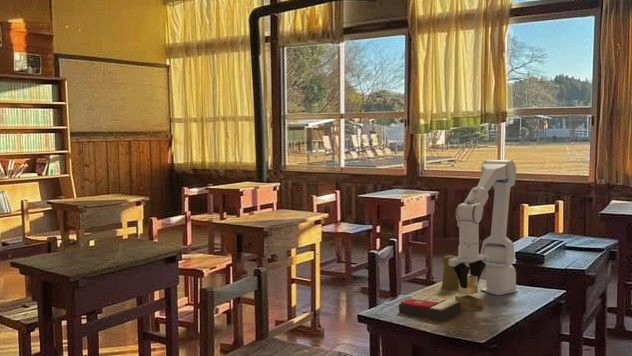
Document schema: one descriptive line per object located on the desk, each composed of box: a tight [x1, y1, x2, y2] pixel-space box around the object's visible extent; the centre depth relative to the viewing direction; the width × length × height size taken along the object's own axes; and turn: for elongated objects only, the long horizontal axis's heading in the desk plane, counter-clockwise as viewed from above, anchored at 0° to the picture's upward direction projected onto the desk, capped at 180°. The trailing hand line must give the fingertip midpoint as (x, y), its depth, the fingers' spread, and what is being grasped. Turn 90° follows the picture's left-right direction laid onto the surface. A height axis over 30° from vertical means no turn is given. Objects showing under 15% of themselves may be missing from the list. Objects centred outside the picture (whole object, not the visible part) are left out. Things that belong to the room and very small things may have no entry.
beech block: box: [458, 274, 479, 295], centre depth 186 cm, size 4×4×5 cm
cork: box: [441, 254, 459, 290], centre depth 209 cm, size 6×6×11 cm
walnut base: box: [454, 293, 484, 312], centre depth 186 cm, size 6×6×4 cm
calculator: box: [398, 294, 462, 323], centre depth 181 cm, size 11×4×15 cm
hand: (469, 286), depth 185 cm, fingers closed on beech block, 4 cm apart
